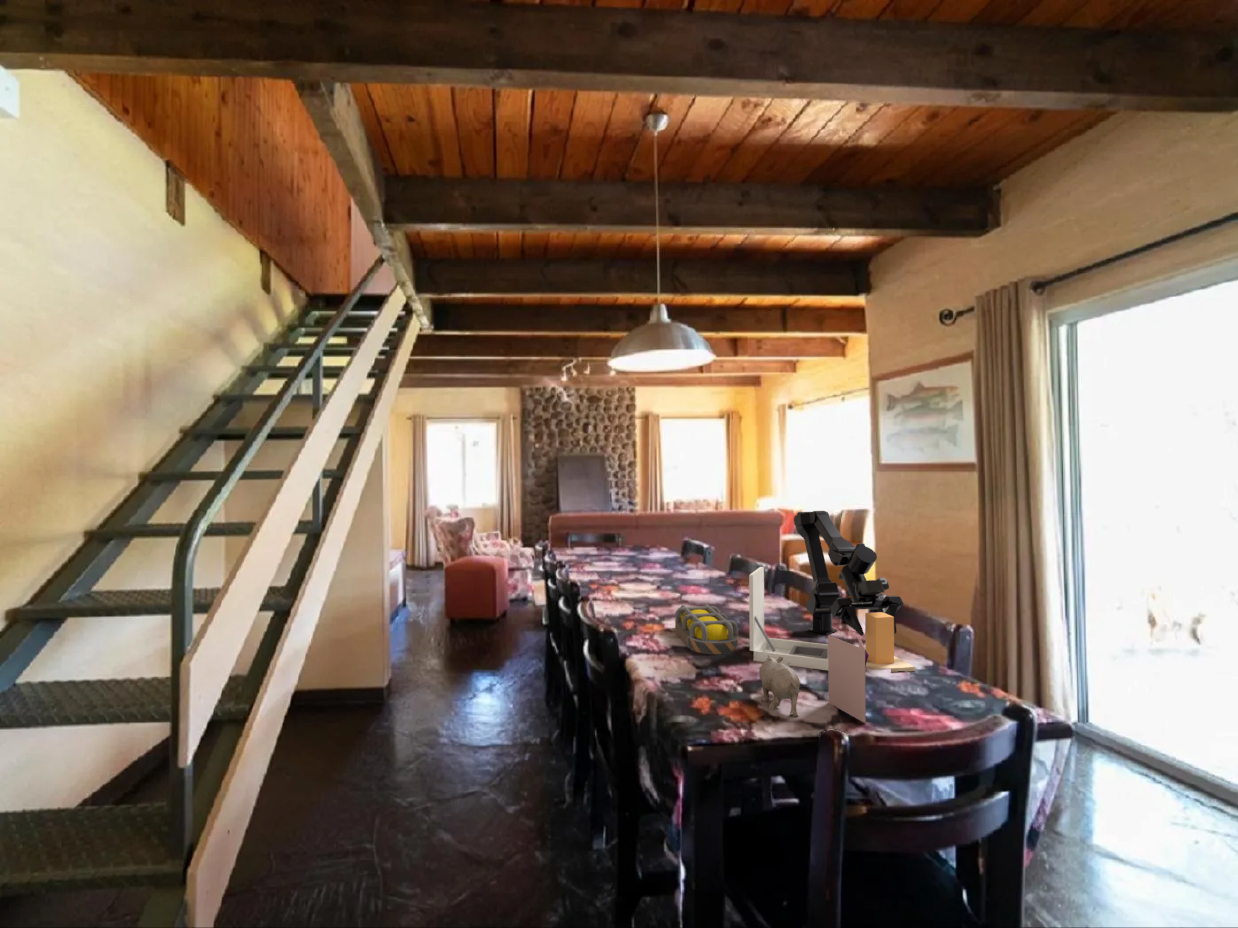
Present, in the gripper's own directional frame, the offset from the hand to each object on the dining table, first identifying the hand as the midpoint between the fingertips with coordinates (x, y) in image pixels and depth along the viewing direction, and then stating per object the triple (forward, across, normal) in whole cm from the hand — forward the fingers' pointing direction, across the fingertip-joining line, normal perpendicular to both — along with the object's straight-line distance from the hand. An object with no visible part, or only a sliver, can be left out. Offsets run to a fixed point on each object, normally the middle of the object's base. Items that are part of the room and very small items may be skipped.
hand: (878, 634), depth 159 cm
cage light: (-15, -39, +27) cm, 49 cm away
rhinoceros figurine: (+20, -36, -8) cm, 42 cm away
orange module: (+5, 0, +5) cm, 7 cm away
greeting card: (+25, -24, -14) cm, 37 cm away
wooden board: (+6, 0, +5) cm, 8 cm away
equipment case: (+2, -21, +10) cm, 23 cm away
